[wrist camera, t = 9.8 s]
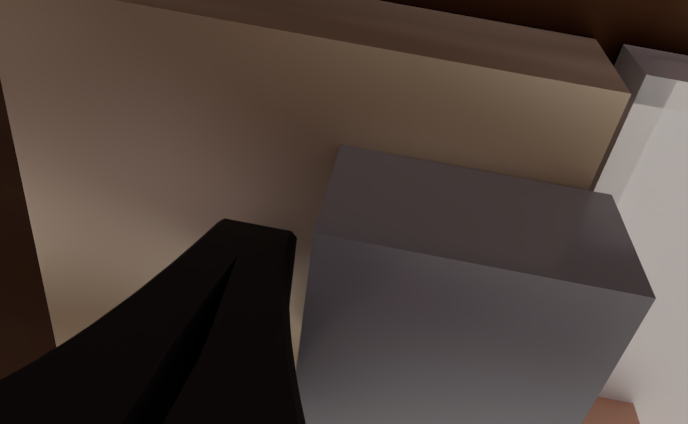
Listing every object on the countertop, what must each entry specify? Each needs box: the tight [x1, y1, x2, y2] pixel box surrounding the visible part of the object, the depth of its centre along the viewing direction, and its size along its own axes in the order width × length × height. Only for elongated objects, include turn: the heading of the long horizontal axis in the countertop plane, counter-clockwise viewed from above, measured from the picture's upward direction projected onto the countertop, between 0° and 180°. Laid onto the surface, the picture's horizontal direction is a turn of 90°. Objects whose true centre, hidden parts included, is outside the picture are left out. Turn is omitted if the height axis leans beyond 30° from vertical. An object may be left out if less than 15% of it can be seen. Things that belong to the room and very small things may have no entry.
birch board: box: [0, 0, 631, 369], centre depth 15 cm, size 16×10×2 cm, turn 172°
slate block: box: [296, 145, 656, 424], centre depth 10 cm, size 4×4×2 cm
